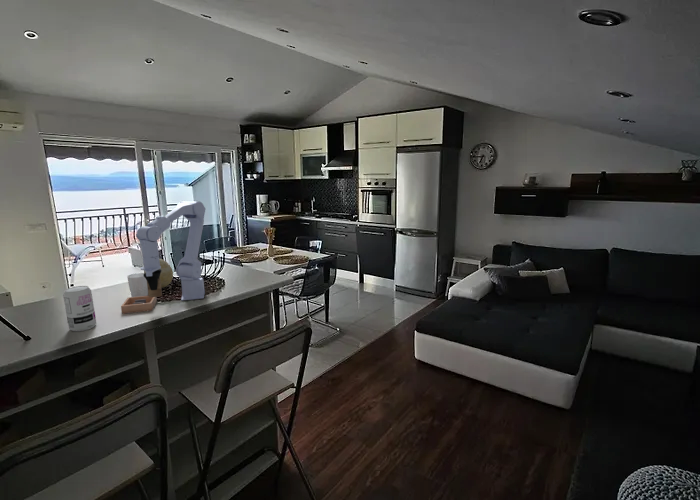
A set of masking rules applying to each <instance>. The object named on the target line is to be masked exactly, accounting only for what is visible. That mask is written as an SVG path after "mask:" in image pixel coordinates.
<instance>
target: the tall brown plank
mask: <svg viewBox="0 0 700 500" xmlns="http://www.w3.org/2000/svg"><path fill="white" fill-rule="evenodd" d="M147 286H148V296H149V297H156V298H158V297H162V296H163V290H162V288H161V281H160V279H158V287H157V290H151V289H150V286H149V284H148V281H147Z"/></svg>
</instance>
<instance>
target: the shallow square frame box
mask: <svg viewBox="0 0 700 500" xmlns="http://www.w3.org/2000/svg"><path fill="white" fill-rule="evenodd" d="M157 298H158V297H149V295H147V296H139V297H127V298H126V299H125V300H124V301H123V303H122V304H121V305H120V309H121V314H133V313H140V312H141V313H142V312H149V311H151V312H152V311H153V310H154V308H155V306H156V305H157V303H158V300H157Z"/></svg>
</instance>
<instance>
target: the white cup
mask: <svg viewBox="0 0 700 500" xmlns="http://www.w3.org/2000/svg"><path fill="white" fill-rule="evenodd" d="M143 274H144V272H136V273H135V272H134V273H132V274H129V275H127V276H126V277H127V281H128V288H129V291H130V296H131V297H139V296H149V294H148V286H147V280H146V278H145V277H144V275H143Z"/></svg>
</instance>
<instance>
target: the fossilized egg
mask: <svg viewBox="0 0 700 500" xmlns="http://www.w3.org/2000/svg"><path fill="white" fill-rule="evenodd" d="M159 261H160V266H161V268H160V269H161V270H162V271H161V273H160V277H159V279H160V281H161V289H164V288H165V287H168V286H169V285H170V284H171V282H172V280H173V278H174V270H173V269H172V266H171V265H170V264H169V263H168V262H167V261H166V260H164V259H162V258H159ZM143 273H146V272H145V271H144V270H143Z"/></svg>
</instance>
